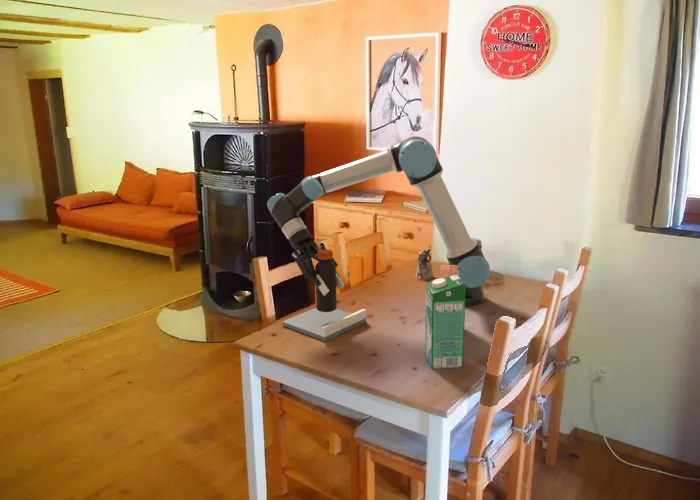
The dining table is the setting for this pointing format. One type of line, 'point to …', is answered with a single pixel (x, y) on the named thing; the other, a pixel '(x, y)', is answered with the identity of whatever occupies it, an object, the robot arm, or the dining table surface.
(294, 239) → the robot arm
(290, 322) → the grey flat square slab
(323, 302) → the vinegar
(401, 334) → the dining table surface
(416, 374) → the dining table surface
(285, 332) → the dining table surface
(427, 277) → the figurine
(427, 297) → the milk carton
